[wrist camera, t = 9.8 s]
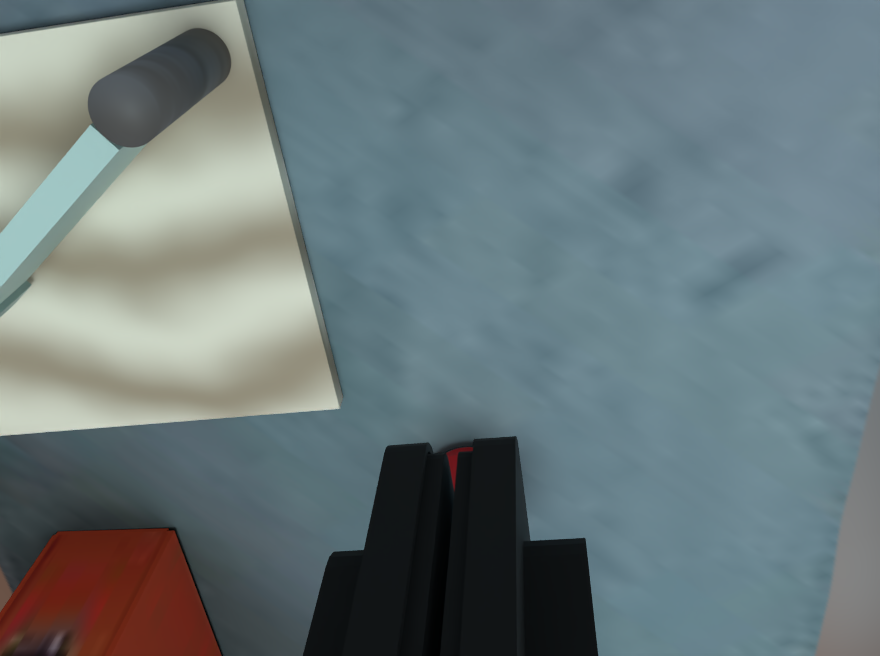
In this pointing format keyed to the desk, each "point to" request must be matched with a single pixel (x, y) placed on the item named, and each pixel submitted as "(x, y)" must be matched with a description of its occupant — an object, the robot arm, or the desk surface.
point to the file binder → (107, 599)
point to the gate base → (157, 231)
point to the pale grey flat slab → (57, 209)
